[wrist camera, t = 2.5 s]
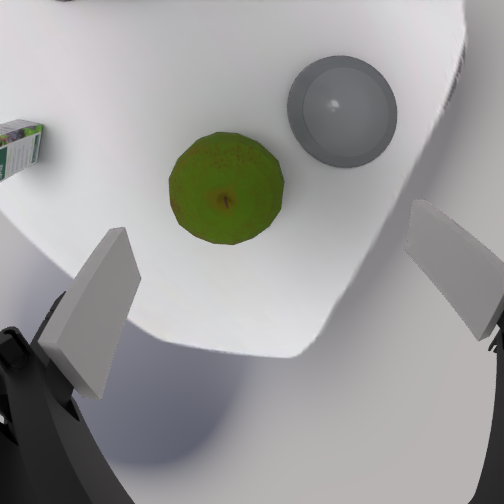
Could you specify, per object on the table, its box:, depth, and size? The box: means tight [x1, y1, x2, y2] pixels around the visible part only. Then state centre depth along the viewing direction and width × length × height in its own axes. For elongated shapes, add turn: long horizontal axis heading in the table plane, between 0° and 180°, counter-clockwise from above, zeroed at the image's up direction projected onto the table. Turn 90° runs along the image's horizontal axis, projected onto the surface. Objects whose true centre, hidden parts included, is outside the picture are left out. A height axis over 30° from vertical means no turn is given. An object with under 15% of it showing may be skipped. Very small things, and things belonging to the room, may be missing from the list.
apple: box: [169, 132, 284, 245], centre depth 28 cm, size 11×11×11 cm
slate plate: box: [287, 56, 397, 168], centre depth 29 cm, size 14×14×2 cm
